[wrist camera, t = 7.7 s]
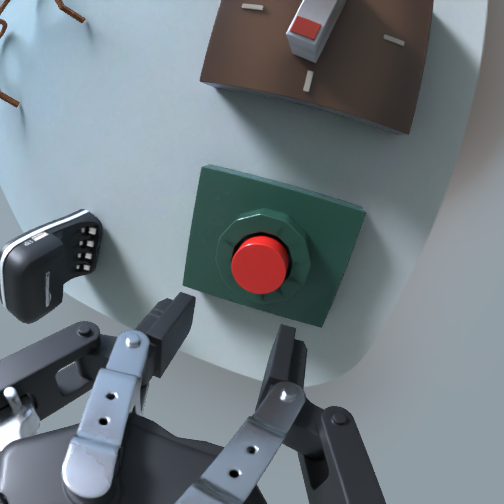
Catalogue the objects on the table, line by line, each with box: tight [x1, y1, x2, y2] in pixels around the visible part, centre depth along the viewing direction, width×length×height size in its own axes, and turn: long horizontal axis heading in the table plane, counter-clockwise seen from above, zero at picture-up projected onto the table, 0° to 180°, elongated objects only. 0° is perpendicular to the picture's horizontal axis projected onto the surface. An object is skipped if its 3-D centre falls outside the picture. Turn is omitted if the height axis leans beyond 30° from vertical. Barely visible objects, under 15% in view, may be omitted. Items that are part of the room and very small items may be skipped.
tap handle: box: [286, 0, 347, 63], centre depth 13 cm, size 6×2×4 cm, turn 156°
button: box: [231, 235, 289, 294], centre depth 21 cm, size 4×4×2 cm
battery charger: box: [0, 209, 102, 324], centre depth 23 cm, size 7×4×11 cm, turn 156°
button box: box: [183, 165, 366, 328], centre depth 23 cm, size 12×10×4 cm
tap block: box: [199, 0, 434, 135], centre depth 16 cm, size 14×12×3 cm
